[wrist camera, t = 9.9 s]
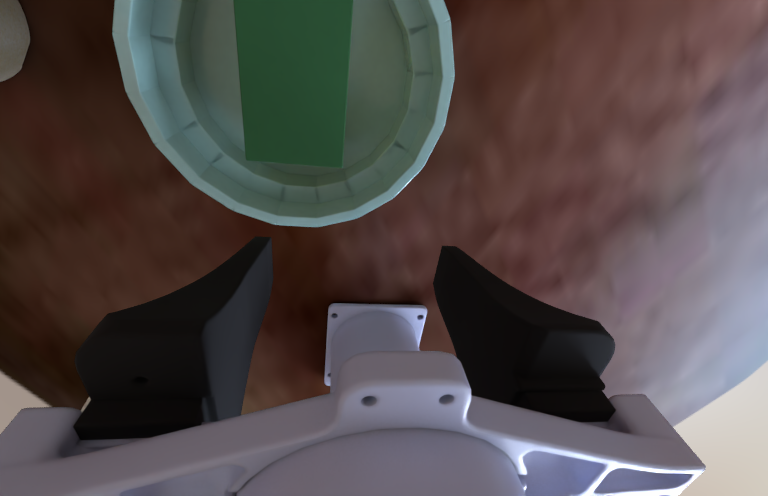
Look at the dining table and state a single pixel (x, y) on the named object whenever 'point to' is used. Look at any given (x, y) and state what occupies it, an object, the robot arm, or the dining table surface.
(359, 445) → the robot arm
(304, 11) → the sponge
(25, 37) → the flower pot
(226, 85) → the bowl
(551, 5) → the dining table surface
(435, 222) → the dining table surface
